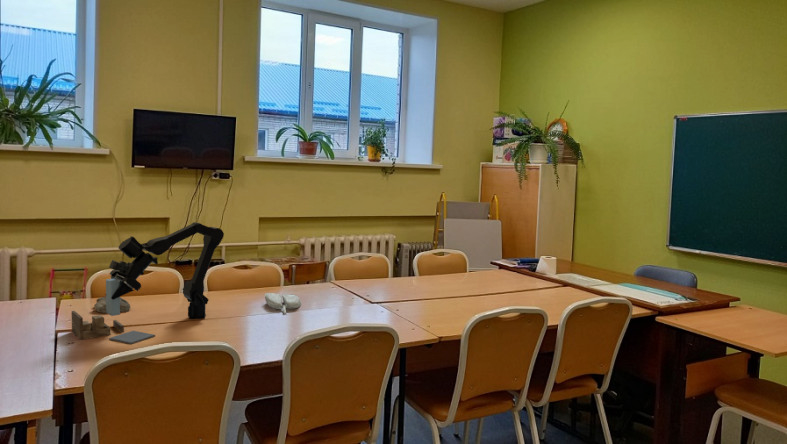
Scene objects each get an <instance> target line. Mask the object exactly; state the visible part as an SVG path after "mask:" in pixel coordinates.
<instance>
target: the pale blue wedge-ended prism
mask: <svg viewBox="0 0 787 444" xmlns="http://www.w3.org/2000/svg"><path fill="white" fill-rule="evenodd" d="M119 286H120V281H118V280H116V279H111V278H108V279H105V294H106V295H105V296H106V313H105V314H108V315H109V316H111V317H113V316H119V315H121V312H120V297H121V296H120V297H118V298H116V299H114V300H113V299H111V297H112V295H113V294H114V293H115V291H116V290H117V289H118V287H119Z"/></svg>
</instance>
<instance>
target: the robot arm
mask: <svg viewBox="0 0 787 444" xmlns="http://www.w3.org/2000/svg"><path fill="white" fill-rule="evenodd" d="M196 234H200V235H202V236H203V238H202V241H203V248H202V250H201V253H200V254H199V258H198V261H197V264H196V266H195V269H194V273H193V276H192V277H191V279H190V280H186V281H184V282H185V283H184V285H183V288H181V289H182V294H183V297H184V298H185V299H187V302H188V303H189V304H188V306H187V317H188V319H189V320H198V319H200V320H201V319H203V320H205V319H206V317H207V313H206V310H207V309H206V306H207V305H208V302H209V298H208V297H207V296H206V295H204V292H205V283H204V282H205V279H206V275H207V273H208V271H209V266H210V264H211V261H212V258H213V255H214V253H215V251H216V250H215V249H217V248H218V246H219V245H221V242H222V241H223V239H224V236H225V233H224V231H223V230H222V229H221V228H219V227H215V226H207V225H204V224H202V223H200V222H197V221H196V222H192V223H191V224H188V225H186V226H184V227H182V228H180V229H178V230H177V231H174V232H172V233H170V234H168V235H165V236H161V237H155V238H152V239H149V240H148V241H147V242H144V243H140V242H139V241H138V240H137V239H136V238H135V237H134V236H130V237H128V238H126V239H125V240H124V241H123V240H122V242H121V243H120V244H119V246H118V250H119V251H121V252H122V254H124V255H125V256H126V257H128V258H129V259H132V258H133V260H132V261H131V262H125V261H123V260H120V261H116V260H113V259H112V260H111V262H110V264H109V266H108V268H109V269H111V271H110V272H109V273H108V274H109V275H110V279H116V280H118V281H120V286H119V287H118V289H117V290H116V291H115V293H114V294H113V295H112V297H111V299H113V300H114V299H116V298H118V297H122V296H124V295H126V294H129V293H132V292H135V291H137V292H139V290H140V289H141V288H142V284H141V282H139V281H138V278H139V277H140V276H144V274H145V270H146V269H147V268H148V267H150V265H151V264H155V265H158V263H159V262H158V256H161V255H163V254H164V253H166V252H167V251H169V250H170V249H171V247H172V246H174V245H175V244H178V243H179V242H183V240H186V239H188V238H190V237H192V236H194V235H196ZM145 251H146V252H145ZM154 255H155V256H154ZM156 256H157V257H156ZM105 296H106V293H105Z"/></svg>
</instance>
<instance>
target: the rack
mask: <svg viewBox="0 0 787 444" xmlns="http://www.w3.org/2000/svg"><path fill="white" fill-rule="evenodd" d="M83 321H84V319H83V317H82V316H81V315H80V314H79V313H78V312H76V311H75V310H71V333H73V334H74V336H76V337H77V339H79V340H85V339H93V338H99V337H104V336H105V337H106V336H111V335H112V334H111V332H112V331H111V327H110V326H109V325H107V324H106V323H105V322H104V329H98V330H96V329H95V328H94V327H93V326H92V322H89V323H90V324H91V331H84V332H83ZM112 325H113V327H114V328H115V329H116V330H117V331H118V332H120V333H125V326H124V324H122V323H121V322H120V321H118V320H117V319H114V320H112Z"/></svg>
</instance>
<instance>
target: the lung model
mask: <svg viewBox="0 0 787 444" xmlns="http://www.w3.org/2000/svg"><path fill="white" fill-rule="evenodd" d="M264 299H265V302H266V304H267V306H269V307H271V308H273V309H276V310H281V309H282V314H283V315H287V310H286V309H297V308H300V307H301V305H302V302H301V299H300V298H299V297H298V296H297V295H294V294H282V295H281V294H278V293H273V292H270V293H269V292H266V293H265V294H264ZM282 303H284V304H282Z"/></svg>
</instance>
